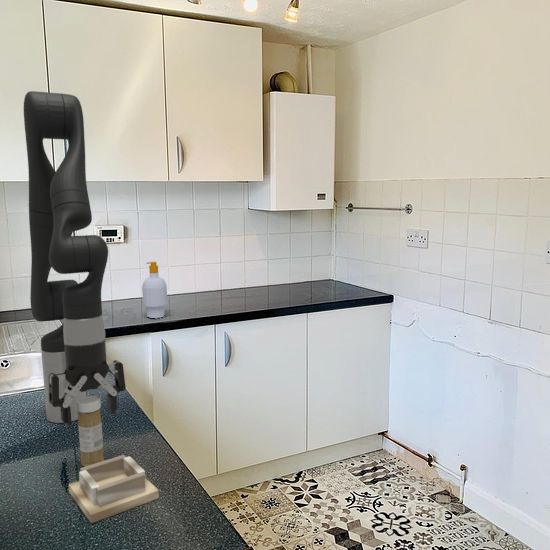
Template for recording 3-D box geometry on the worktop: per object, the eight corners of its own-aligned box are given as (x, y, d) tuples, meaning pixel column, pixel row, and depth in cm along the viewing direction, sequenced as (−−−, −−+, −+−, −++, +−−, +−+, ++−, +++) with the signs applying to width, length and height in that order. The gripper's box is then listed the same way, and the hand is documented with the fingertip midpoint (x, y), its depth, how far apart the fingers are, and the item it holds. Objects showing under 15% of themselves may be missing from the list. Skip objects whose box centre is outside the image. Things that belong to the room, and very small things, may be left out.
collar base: (68, 491, 98) (67, 468, 98) (132, 470, 105) (130, 449, 105) (91, 523, 89) (89, 498, 88) (158, 498, 96) (157, 474, 95)
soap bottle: (139, 317, 235) (136, 262, 231) (160, 313, 241) (158, 259, 238) (150, 321, 227) (147, 264, 223) (172, 317, 233) (170, 262, 230)
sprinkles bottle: (97, 455, 112) (93, 393, 110) (108, 462, 109) (104, 398, 107) (76, 463, 109) (71, 399, 107) (87, 471, 106) (83, 405, 103)
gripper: (113, 329, 112) (117, 404, 114) (40, 341, 103) (47, 422, 106) (127, 336, 106) (132, 415, 108) (51, 349, 98) (58, 434, 100)
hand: (90, 418), depth 107 cm, fingers open, 8 cm apart
